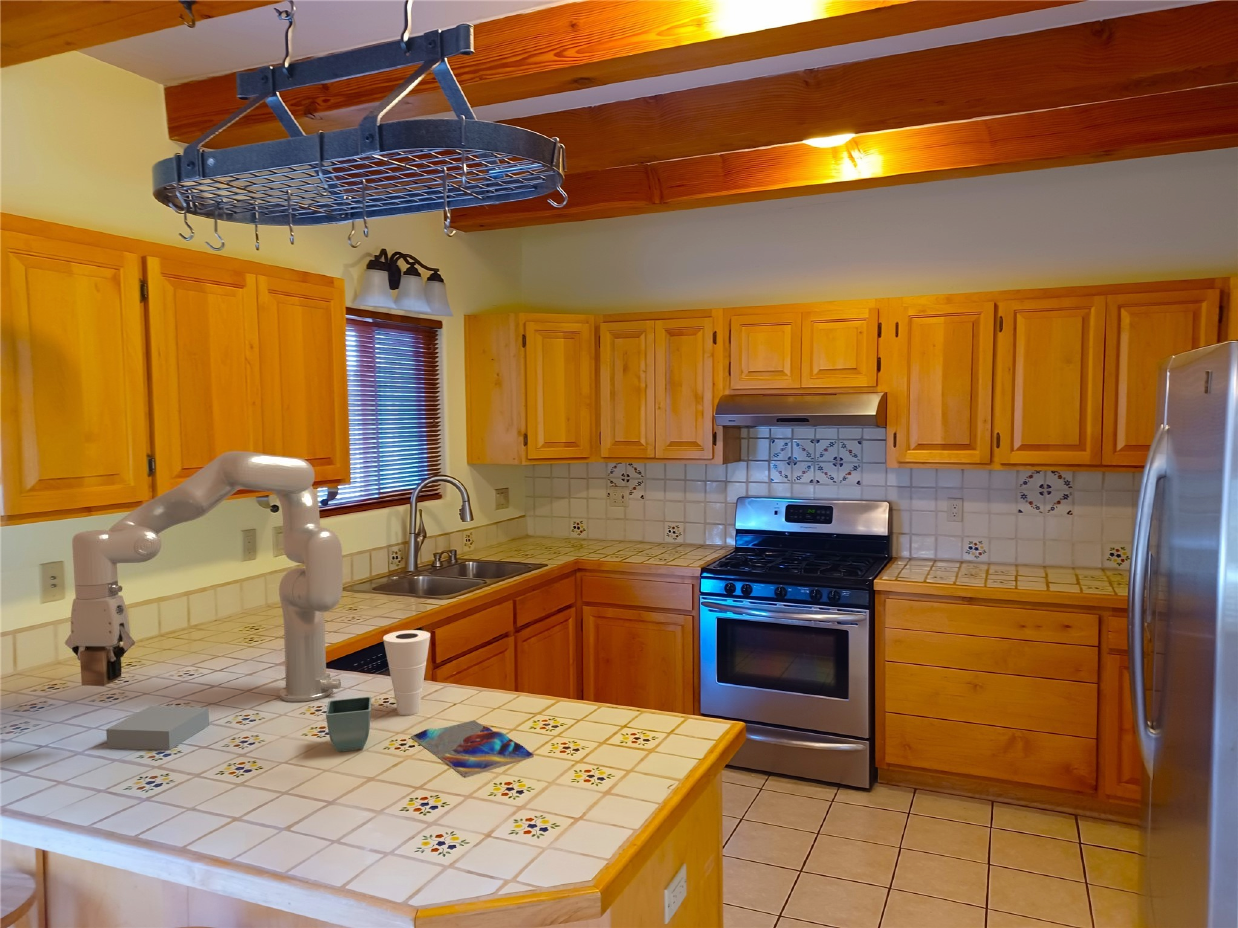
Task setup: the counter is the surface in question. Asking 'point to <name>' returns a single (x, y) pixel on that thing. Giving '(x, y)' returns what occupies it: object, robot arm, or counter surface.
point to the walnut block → (95, 667)
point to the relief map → (472, 747)
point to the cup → (407, 667)
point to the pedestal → (157, 728)
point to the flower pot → (349, 723)
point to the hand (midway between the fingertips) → (101, 676)
